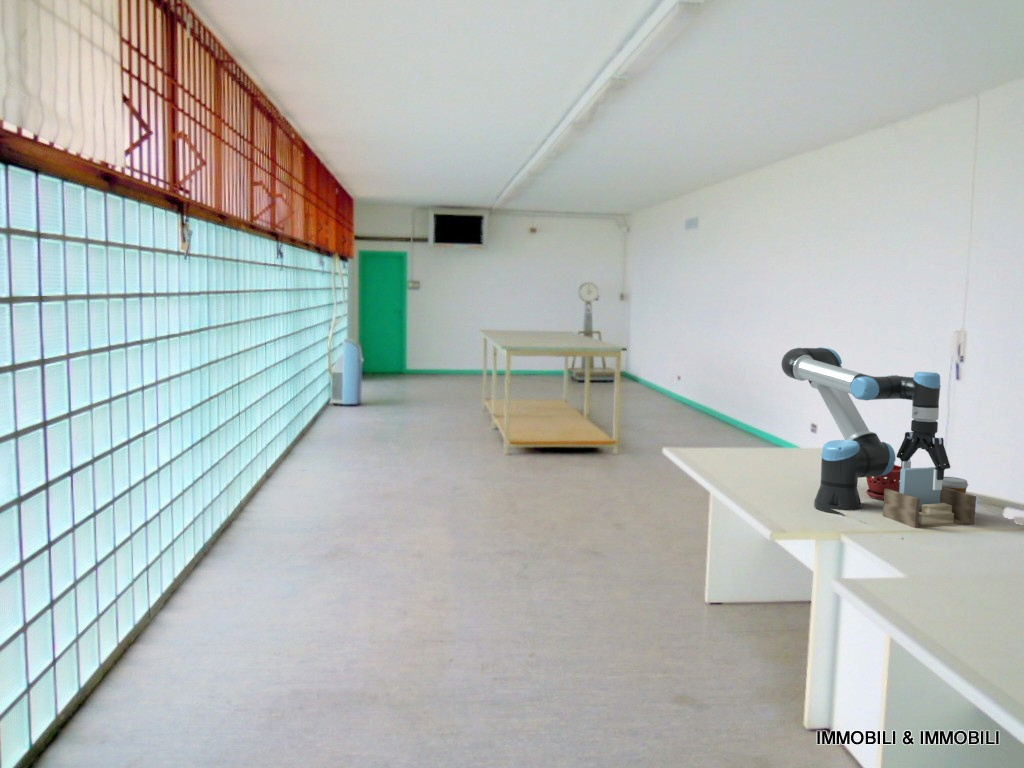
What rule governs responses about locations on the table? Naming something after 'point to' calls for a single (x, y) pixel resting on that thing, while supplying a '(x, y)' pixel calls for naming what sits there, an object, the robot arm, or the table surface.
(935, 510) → the offcut stack
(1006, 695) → the table surface
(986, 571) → the table surface
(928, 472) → the panel
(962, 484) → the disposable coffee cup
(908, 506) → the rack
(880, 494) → the plant pot
